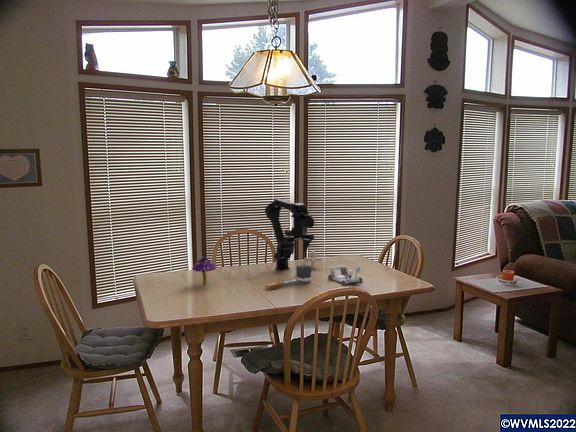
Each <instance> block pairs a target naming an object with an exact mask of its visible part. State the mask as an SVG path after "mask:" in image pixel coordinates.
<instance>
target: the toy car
mask: <svg viewBox="0 0 576 432" xmlns="http://www.w3.org/2000/svg"><path fill="white" fill-rule="evenodd" d="M362 270H363V269H362V267H360V266H354V272H355V274H361V273H362V272H363V271H362ZM329 271H330V273H329V274H328V276H327V279H328V280H330V281H335V282H338V283H341V285H342V286H343V287H345V286H346V285H347V284H352V283H357V282H358V283H360V284H362V283H363V278H362V277H361V276H360V277H358V278H357V277H354V276H352V273H353V270H352V269H347V265H346V264H345V265H339V266H338V265H337V266H331V267H329Z"/></svg>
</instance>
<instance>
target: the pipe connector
mask: <svg viewBox="0 0 576 432" xmlns="http://www.w3.org/2000/svg"><path fill="white" fill-rule="evenodd" d="M310 253H311V255H310V257H304V259H303V261H305V262H309V261H310V264H311V265H310V266H311V269H314V268H315V262H322V257H315V250H311V252H310Z"/></svg>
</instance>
